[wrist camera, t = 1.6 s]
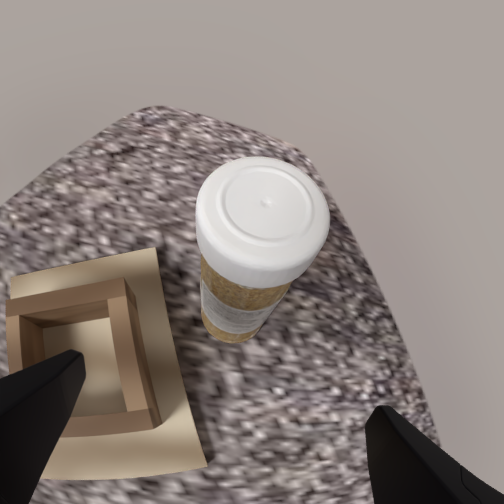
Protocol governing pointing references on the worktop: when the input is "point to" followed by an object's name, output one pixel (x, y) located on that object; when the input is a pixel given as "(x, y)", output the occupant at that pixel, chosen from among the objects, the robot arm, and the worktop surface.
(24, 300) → the bottle stand
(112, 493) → the worktop surface
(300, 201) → the sprinkles bottle
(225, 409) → the worktop surface
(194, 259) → the worktop surface
